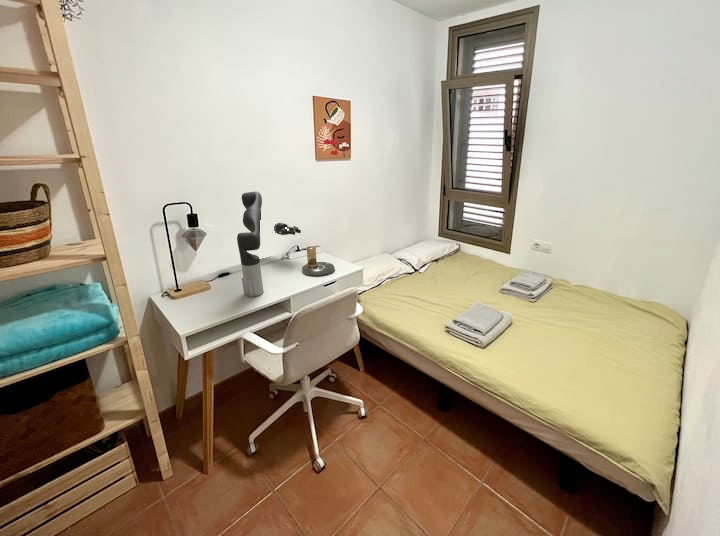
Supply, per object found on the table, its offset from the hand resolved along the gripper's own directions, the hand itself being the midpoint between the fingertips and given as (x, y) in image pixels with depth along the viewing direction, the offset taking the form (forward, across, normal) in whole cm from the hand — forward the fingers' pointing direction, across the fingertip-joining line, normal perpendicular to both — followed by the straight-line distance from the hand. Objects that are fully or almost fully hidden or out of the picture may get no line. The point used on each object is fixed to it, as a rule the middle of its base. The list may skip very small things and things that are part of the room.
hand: (297, 232), depth 209 cm
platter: (+16, 0, +22) cm, 27 cm away
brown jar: (+11, 0, +20) cm, 23 cm away
